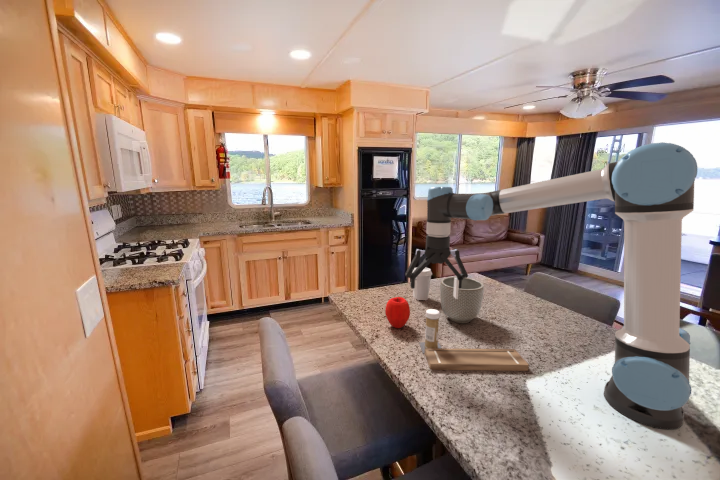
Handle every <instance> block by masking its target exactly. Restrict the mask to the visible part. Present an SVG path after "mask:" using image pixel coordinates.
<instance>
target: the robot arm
mask: <svg viewBox="0 0 720 480" xmlns="http://www.w3.org/2000/svg"><path fill="white" fill-rule="evenodd" d="M697 175H698V163H697V160H696V158H695V157H694V155H693V153H691V152H690V151H689V150H688V149H686V148H685V147H683V146H681V145H678V144H676V143H671V142H652V143H648V144H643V145H640V146H638V147H635V148H634V149H632V150H630V151H628V152H627V153H625V155H623V156H622V157H621V158H620V159H619V160H617V161H614V162H608V163H607V164H606V165H605V166H604V167H603V168H601V169H597V170H596V169H595V170H591V171H585V172H581V173H576V174H571V175H566V176H562V177H558V178H557V177H556V178H552V179H551V178H550V179H548V180H542V181H537V182H532V183H528V184H527V183H526V184H523V185H518V186H513V187H509V188H505V189H499V190H494V191H488V192H482V193H481V192H479V193H456V192H454V191H453V187H452V186H431V187H429V188H428V191H427V200H426V203H427V208H426V210H427V211H426V213H427V214H426V215H427V216H426V237H425V248H424V249H423V250H422V249H419V248H416V249H415V254H414V256H413V259H412V260H411V262H410V264H409V266H408V268H407V270H406V271H405V273H404V275H405V277H406V278H407V279H410V283H409V284H410V288H411V289H413V291H412V297H413V299H414V300H416V299H417V278H416V277H417V276H418V275H419V274H420V273H421V272H422V271H423V270H424V268H425V267H426V268H427V266H429V265H430V264H433V265H435V264H440V265H441V264H444V263H445V264H446V265H447V266H448V268H449V269H450V271H452V273H453V274H454V275H455V277H457V278H454V292H453V296H454V297H455V299H458V289H459V288H460V289H461V286H462V280H463V278H469V274H468V272H467V270H466V268H465V266H464V264H463V261H462V259H461V257H460V256H461V255H460V251H459V249H458V248H454V249H453V250H452V249H451V250H450V246H451V236H450V235H451V229H452V228H451V227H452V226H451V224H452V219H462V220H470V221H471V220H472V221H474V222H475V221H487V220H489V219H490V217H491V216H497V215H504V214H509V213H510V214H511V213H517V212H524V211H531V210H536V209H537V210H538V209H545V208H550V207H558V206H563V205H565V206H566V205H571V204H577V203H584V202H593V201H597V200H605V199H607V200H610V201H611V202H614V211H615V212H614V214H615V215H616V216H618V217H619V218H621V219H622V220H623V226H624V227H623V228H624V229H623V231H624V232H623V235H624V236H623V240H624V241H623V263H624V264H623V326H622V327H621V328H620V329H618V330H616V331H615V333H614V363H613V364H612V368H611V374H612V375H611V377H610V378H609V381H607V382H606V384H604V385H605V386H604V389H603V397H604V399H605V401H606V403H608V404H609V405H610V407H612V408H613V409H614V410H616V411H617V412H618V413H620V414H621V415H623V416H625V417H626V418H629V419H631V420H633V421H634V422H637V423H640V424H642V425H645V426H649V427H652V428H655V429H656V428H657V429H662V430H676V429H680V428H681V427H682V426H683V424H684V420H685V411H684V409H683V406H685V405H686V404H687V403H688V402H689V399H690V396H691V395H692V390H693V389H692V386H691V384H690V366H691V365H690V362H691V358H690V356H691V352H690V351H691V349H690V348H691V335H690V333H689V332H688V331H686V330H684V329H683V328H681V327H680V324H681V323H680V320H681V319H680V317H681V315H680V314H681V277H682V276H681V272H682V270H681V269H682V233H683V232H682V230H683V229H682V228H683V219H684V218H685V217H686V216H688V215H689V214H690V213H692V212H693V211H694V206H695V205H694V204H695V203H694V202H695V180H696V178H697ZM423 255H425V258H424V259H423V260H422V262H421V263H420V264H419V265H418V266H417V264H418V263H419V261H420V258H421V257H423ZM450 256H452V257H453V258H454V260H455V262H456V264H457V265H458V269H459V271H460V273H459V271H458V270H457V269H456V267H455V266H454V265H453V264H452V263H451V262H450V260H449V257H450ZM416 266H417V268H416ZM414 268H416V270H415V271H414V272H413V270H414ZM412 272H413V273H412Z"/></svg>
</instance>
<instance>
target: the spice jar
mask: <svg viewBox="0 0 720 480" xmlns="http://www.w3.org/2000/svg"><path fill="white" fill-rule="evenodd" d="M440 314H441V313H440V311H439V310H438V309H433V308H429V309H426V310H425V318H426V319H425V329H424V330H425V332H424V334H425V335H424V338H425V339H424V342H425V348H438V342H439V325H440V324H439V321H440V316H441V315H440Z"/></svg>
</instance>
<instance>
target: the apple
mask: <svg viewBox="0 0 720 480" xmlns="http://www.w3.org/2000/svg"><path fill="white" fill-rule="evenodd" d="M410 308H411V307H410V305H409V302H408V300H407V299H406V298H404V297H402V296H396V297H395V296H394V297H391V298H390V299H388V301H387V303H386V304H385V310H384V311H385V316H386V319H387V322H388V323H389V324H390V325H391V327H393V328H395V329H401V328H403V327H404V326H405V325H406V324H407V323H408V321H409V319H410V315H411V309H410Z"/></svg>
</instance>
